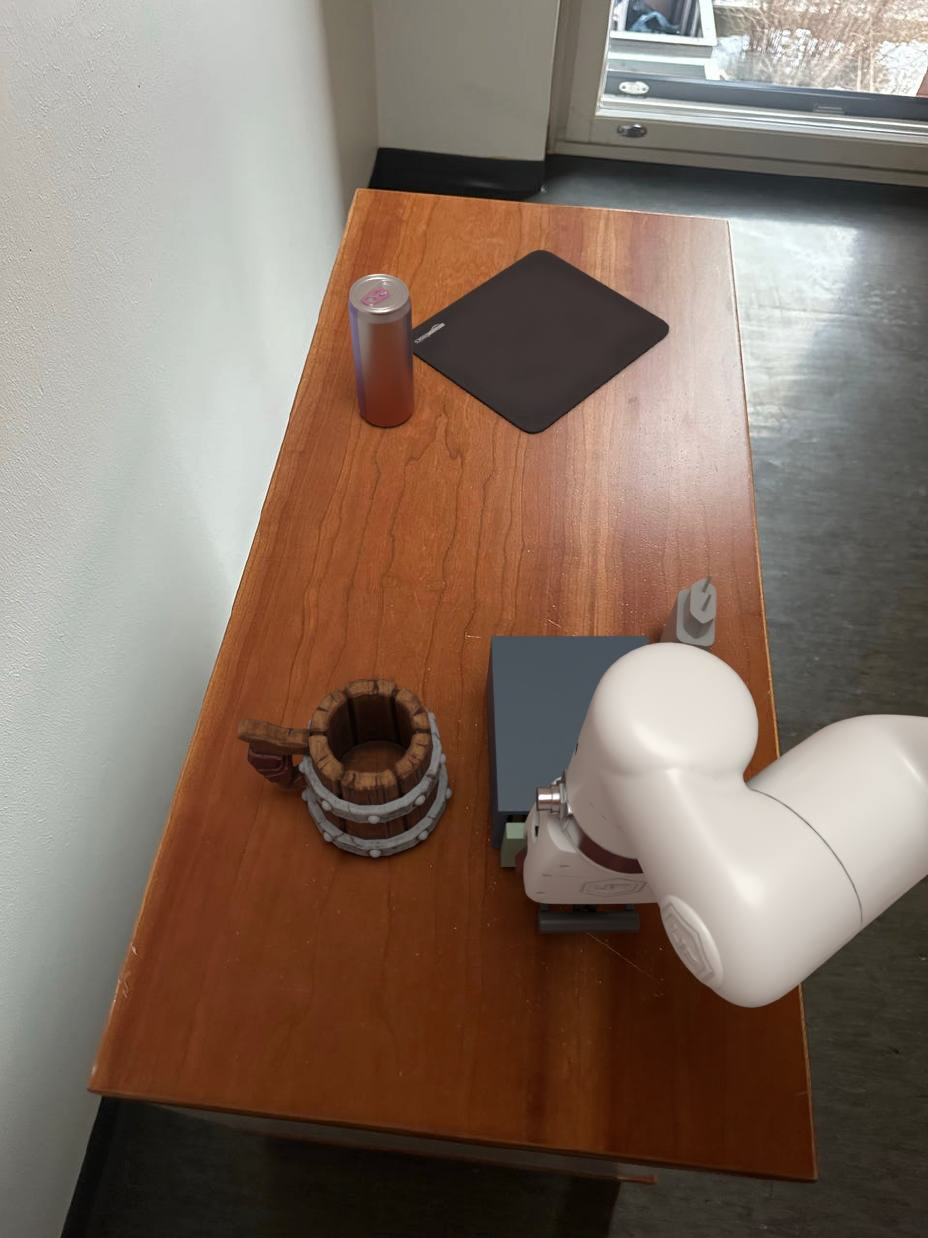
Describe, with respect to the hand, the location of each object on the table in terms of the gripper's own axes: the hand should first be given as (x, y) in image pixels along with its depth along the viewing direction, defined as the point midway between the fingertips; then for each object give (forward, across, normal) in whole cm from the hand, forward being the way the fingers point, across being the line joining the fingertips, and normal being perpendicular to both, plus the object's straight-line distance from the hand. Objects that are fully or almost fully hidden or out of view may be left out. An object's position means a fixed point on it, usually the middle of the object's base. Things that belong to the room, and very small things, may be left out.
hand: (581, 890), depth 65 cm
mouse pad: (+5, +1, +65) cm, 65 cm away
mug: (+5, -17, +9) cm, 20 cm away
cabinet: (+4, 0, +12) cm, 13 cm away
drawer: (+3, 0, +6) cm, 7 cm away
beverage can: (+5, -16, +53) cm, 55 cm away
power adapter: (+5, +11, +22) cm, 25 cm away
